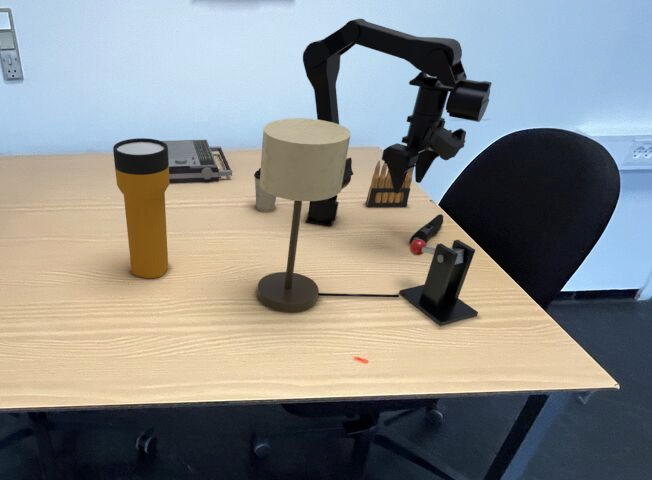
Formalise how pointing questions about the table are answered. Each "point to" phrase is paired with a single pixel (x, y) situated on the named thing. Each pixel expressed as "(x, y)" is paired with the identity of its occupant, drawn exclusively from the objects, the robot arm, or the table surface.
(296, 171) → the desk lamp
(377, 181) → the ammunition clip
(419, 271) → the table surface
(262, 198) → the coffee cup
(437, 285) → the switch bracket
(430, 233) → the electric trimmer
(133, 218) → the flashlight
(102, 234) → the table surface
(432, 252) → the lever
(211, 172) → the radio
